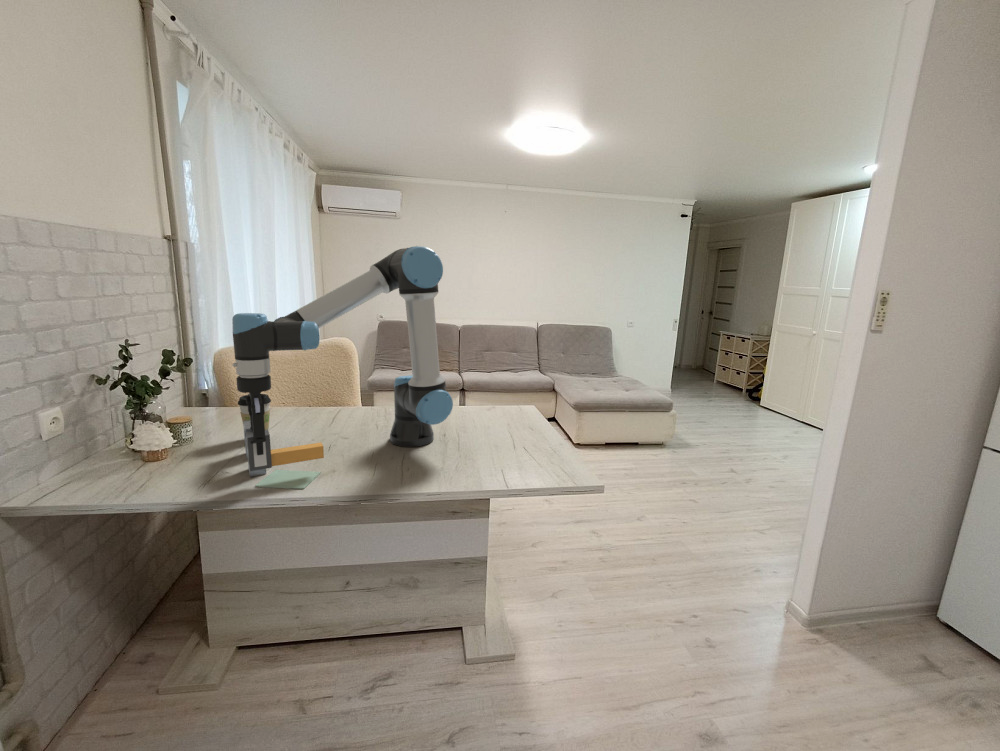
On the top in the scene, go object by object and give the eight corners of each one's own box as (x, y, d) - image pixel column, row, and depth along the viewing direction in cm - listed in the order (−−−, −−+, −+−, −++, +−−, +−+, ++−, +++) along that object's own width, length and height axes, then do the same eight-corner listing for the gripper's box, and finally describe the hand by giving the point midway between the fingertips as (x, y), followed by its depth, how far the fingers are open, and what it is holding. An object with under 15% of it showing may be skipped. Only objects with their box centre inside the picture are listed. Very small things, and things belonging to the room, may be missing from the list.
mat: (320, 473, 122) (320, 471, 122) (303, 489, 112) (303, 487, 112) (275, 471, 123) (275, 469, 123) (255, 486, 113) (255, 485, 113)
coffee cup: (259, 445, 142) (255, 401, 139) (233, 442, 143) (229, 399, 140) (280, 435, 151) (277, 394, 148) (255, 433, 153) (252, 392, 150)
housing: (260, 450, 137) (257, 414, 135) (266, 473, 121) (263, 433, 118) (245, 452, 135) (242, 416, 133) (249, 476, 119) (246, 435, 116)
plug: (320, 453, 123) (319, 423, 122) (324, 458, 119) (323, 428, 117) (248, 464, 114) (246, 432, 112) (249, 471, 110) (247, 437, 108)
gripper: (234, 369, 114) (241, 452, 118) (237, 383, 99) (245, 477, 103) (266, 368, 118) (272, 448, 122) (274, 380, 103) (280, 471, 107)
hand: (259, 461), depth 113 cm, fingers closed on plug, 5 cm apart
